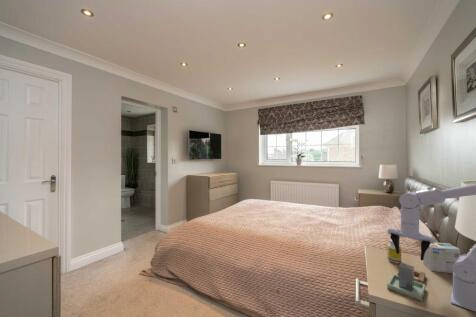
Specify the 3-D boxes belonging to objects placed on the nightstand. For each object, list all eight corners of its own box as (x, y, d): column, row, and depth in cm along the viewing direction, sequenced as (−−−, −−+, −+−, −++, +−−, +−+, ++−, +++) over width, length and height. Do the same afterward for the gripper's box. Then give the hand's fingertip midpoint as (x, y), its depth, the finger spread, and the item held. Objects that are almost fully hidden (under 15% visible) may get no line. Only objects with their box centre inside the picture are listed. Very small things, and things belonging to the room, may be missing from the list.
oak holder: (425, 276, 90) (425, 273, 90) (422, 284, 84) (422, 280, 84) (401, 269, 96) (401, 265, 96) (397, 276, 90) (397, 272, 90)
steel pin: (413, 287, 82) (414, 266, 82) (412, 291, 79) (412, 270, 79) (400, 282, 85) (401, 262, 85) (398, 287, 82) (399, 266, 82)
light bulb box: (449, 266, 98) (449, 242, 98) (461, 274, 91) (461, 249, 91) (422, 263, 100) (422, 241, 100) (431, 271, 94) (431, 247, 94)
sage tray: (425, 289, 81) (425, 284, 81) (421, 301, 75) (421, 296, 75) (393, 278, 89) (393, 274, 89) (387, 288, 82) (387, 284, 82)
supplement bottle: (403, 264, 100) (403, 243, 100) (390, 263, 101) (390, 242, 101) (397, 258, 105) (397, 238, 105) (385, 257, 106) (385, 238, 106)
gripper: (435, 224, 83) (434, 258, 84) (390, 216, 94) (390, 247, 94) (433, 228, 79) (433, 265, 79) (386, 220, 89) (386, 252, 89)
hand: (409, 255), depth 86 cm, fingers open, 7 cm apart
